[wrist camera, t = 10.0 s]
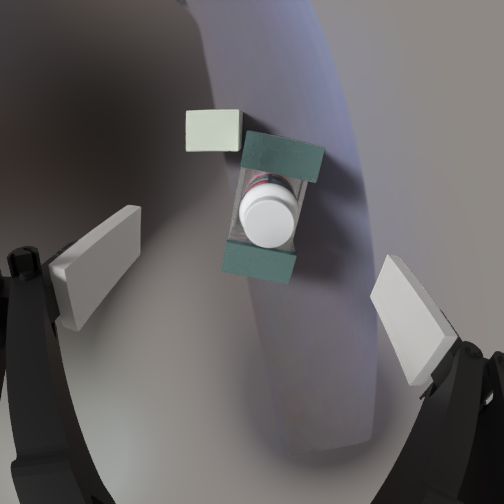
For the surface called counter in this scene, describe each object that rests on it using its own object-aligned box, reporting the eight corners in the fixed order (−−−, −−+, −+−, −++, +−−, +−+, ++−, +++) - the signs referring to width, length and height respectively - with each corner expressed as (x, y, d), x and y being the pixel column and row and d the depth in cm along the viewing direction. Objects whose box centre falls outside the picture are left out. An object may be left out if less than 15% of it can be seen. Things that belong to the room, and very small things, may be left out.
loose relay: (196, 112, 27) (186, 110, 24) (243, 111, 27) (239, 109, 23) (196, 147, 29) (186, 151, 25) (241, 148, 29) (237, 151, 25)
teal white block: (249, 129, 28) (243, 130, 21) (314, 143, 28) (327, 149, 22) (228, 241, 33) (219, 271, 27) (286, 253, 34) (290, 284, 27)
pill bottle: (265, 162, 28) (263, 176, 20) (303, 192, 29) (317, 219, 21) (234, 200, 30) (222, 229, 22) (272, 229, 31) (274, 267, 23)
